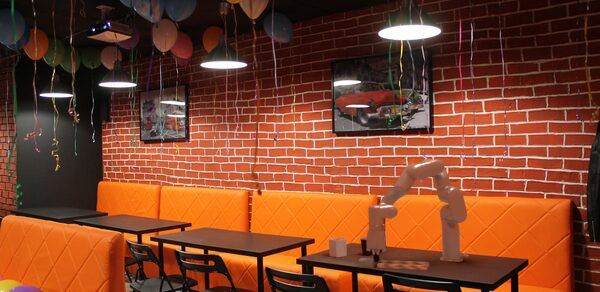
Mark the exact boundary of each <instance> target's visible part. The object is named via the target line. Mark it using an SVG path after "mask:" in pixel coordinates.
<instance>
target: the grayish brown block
mask: <svg viewBox="0 0 600 292" xmlns="http://www.w3.org/2000/svg"><path fill="white" fill-rule="evenodd" d="M357 261H358V262H357V263H358V268H366V269H367V268H368V269H373V268H374V267H376V262H375V260H374V258H366V257H361V258H359V259H358V260H357Z"/></svg>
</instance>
